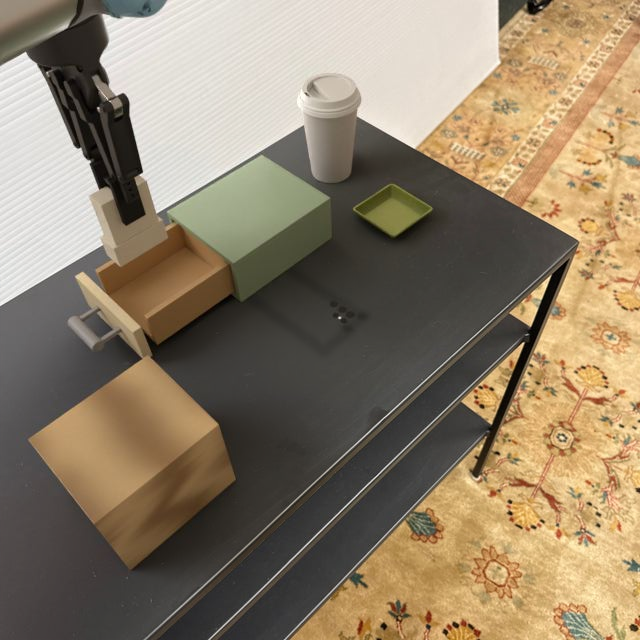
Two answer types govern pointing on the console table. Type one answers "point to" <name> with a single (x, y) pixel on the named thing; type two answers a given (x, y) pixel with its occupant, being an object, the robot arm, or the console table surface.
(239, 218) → the cabinet
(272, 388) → the console table surface
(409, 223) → the olive green square tray
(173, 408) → the stand
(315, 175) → the coffee cup
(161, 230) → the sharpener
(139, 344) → the drawer
